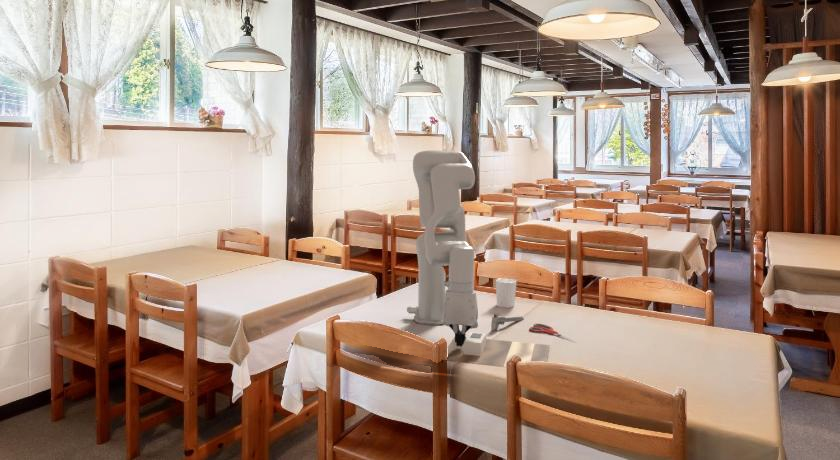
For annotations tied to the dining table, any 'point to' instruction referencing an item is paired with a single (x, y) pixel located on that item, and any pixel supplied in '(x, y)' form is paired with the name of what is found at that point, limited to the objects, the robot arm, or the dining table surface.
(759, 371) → the dining table surface
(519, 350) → the subfloor panel
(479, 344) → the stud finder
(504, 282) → the white cup
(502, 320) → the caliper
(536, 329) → the scissors
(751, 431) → the dining table surface
